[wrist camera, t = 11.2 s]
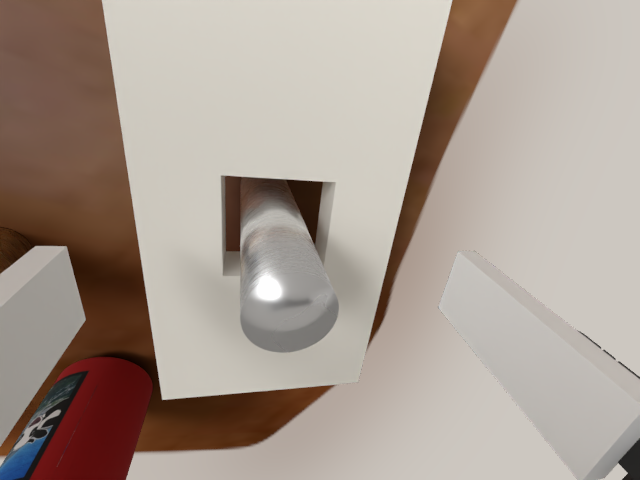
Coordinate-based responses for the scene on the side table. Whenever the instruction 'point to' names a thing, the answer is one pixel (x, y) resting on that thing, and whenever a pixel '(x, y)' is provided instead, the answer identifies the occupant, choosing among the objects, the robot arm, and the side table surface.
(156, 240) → the white bench
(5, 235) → the short brass pin
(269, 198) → the tall steel pin
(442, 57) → the side table surface
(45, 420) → the beverage can
